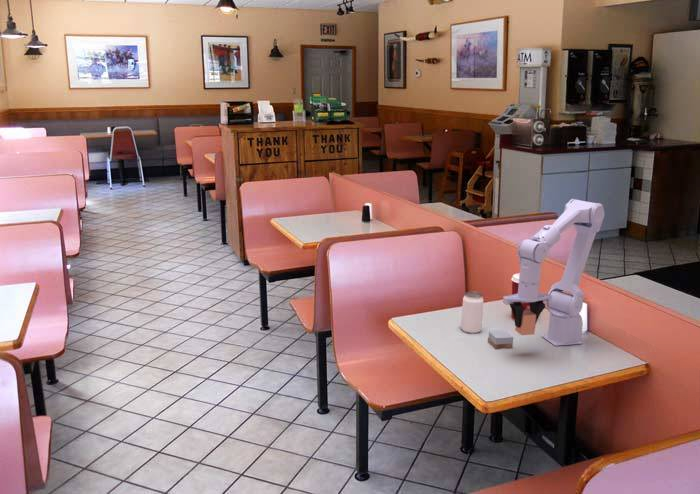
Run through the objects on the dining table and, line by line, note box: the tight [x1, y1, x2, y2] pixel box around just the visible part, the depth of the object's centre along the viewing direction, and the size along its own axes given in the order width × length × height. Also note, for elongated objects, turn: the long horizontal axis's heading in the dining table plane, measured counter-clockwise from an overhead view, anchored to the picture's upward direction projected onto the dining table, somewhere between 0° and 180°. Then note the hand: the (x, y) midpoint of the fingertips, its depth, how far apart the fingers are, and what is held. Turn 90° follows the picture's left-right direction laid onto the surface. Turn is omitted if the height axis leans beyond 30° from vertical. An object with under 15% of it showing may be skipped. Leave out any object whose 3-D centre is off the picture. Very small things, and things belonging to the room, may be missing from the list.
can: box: [460, 291, 484, 334], centre depth 203 cm, size 6×6×12 cm
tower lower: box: [487, 337, 514, 350], centre depth 193 cm, size 6×6×2 cm
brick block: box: [514, 310, 537, 336], centre depth 185 cm, size 4×4×6 cm
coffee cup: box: [510, 272, 530, 321], centre depth 214 cm, size 8×8×15 cm
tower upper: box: [487, 330, 514, 344], centre depth 193 cm, size 6×6×2 cm
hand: (524, 325), depth 185 cm, fingers closed on brick block, 4 cm apart
